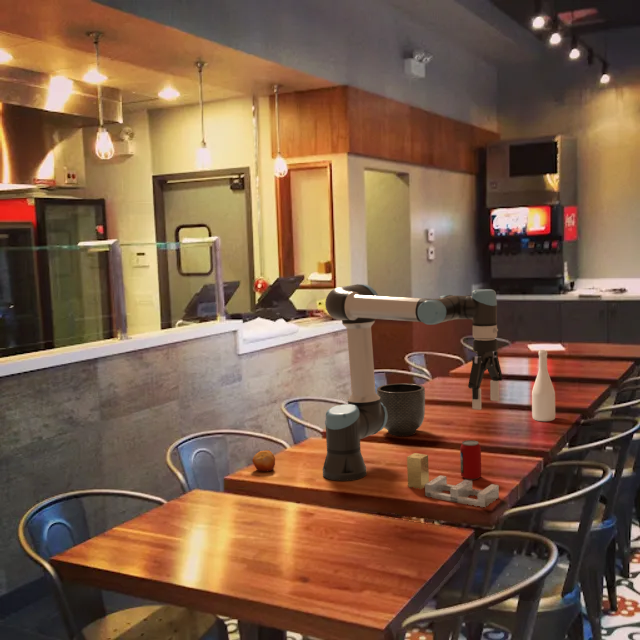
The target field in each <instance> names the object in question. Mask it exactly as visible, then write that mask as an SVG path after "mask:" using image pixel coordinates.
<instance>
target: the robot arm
mask: <svg viewBox="0 0 640 640" xmlns="http://www.w3.org/2000/svg"><path fill="white" fill-rule="evenodd" d="M497 300H498V299H497V293H496V291H495V290H494V289H485V288H482V289H481V288H480V289H474V290H472V291H471V295H453V294H448V295H441V296H439V297H438V298H421V297H402V296H386V295H385V296H384V295H379V294H378V293H377V290H376V289H374V288H373V287H372V286H371V285H368V284H364V283H362V284H361V283H360V284H359V283H357V284H350V285H343V286H338V287H335V288H334V289H332V290H330V292H329V293H328V294H327V295H326V299H325V304H324V305H325V309H326V313H328V315H329V316H330V317H331V318H333V319H334V320H338V321H341V324H342V325H343V326H344V327H345V328H346V333H347V337H346V338H347V346H348V347H347V348H348V350H347V351H348V363H349V374H350V376H349V377H350V390H351V395H350V396H349V397H348V399H347V404H346V403H345V404H340V405H335V406H332V407H329V408H328V410H327V411H326V412H325V421H324V424H325V437H326V457H325V460H324V461H323V462H324V463H323V467H322V477H324V478H325V479H328V480H329V481H330V480H331V481H339V482H343V481H344V482H346V481H348V482H349V481H355V480H359V479H362V478H364V477H366V476H367V466H366V463H365V461H364V458H363V454H362V450H361V440H362V439H365V438H367V437H369V436H373V435H376V434H378V433H379V432H380V431H382V430H383V429H385V428H384V427H385V425H386V423H387V418H388V414H387V410H386V407H384V406H383V403H381V401H380V397H379V396H378V395H377V390H376V379H375V365H374V364H375V363H374V351H373V335H372V326H373V325H374V324H375V322H376V320H390V321H391V320H392V321H404V322H415V323H416V322H418V323H423V324H425V325H429V326H430V325H435V326H436V325H438V324H440V323H445V322H450V321H453V320H454V321H455V320H472V338H474V339H473V340H472V350H473V352H475V353H477V355H476V356H472V359H471V360H472V361H471V362H472V363H471V364H472V365H471V369H470V374H469V378H468V379H469V380H468V389H471V401H472V402H471V403H472V404H471V406H472V407H471V409H472V410H482V388H481V384H482V381H483V378H484V374H485V372H488V374H489V376H490V379H491V380H490V382H489V385H490V391H489V393H490V401H493V402H499V401H500V381H502V380H503V373H502V369H501V365H500V360H499V354H498V353H499V352H498V339H496V338H498V332H499V328H498V323H497V321H498V320H497V319H498V315H497V314H498V301H497Z"/></svg>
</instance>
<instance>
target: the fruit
mask: <svg viewBox="0 0 640 640" xmlns="http://www.w3.org/2000/svg"><path fill="white" fill-rule="evenodd" d="M252 464H253V466H254V467H255V469H256V471H258V472H261V473H262V472H272V470H274V468H275V465H276V456H275V455H274V453H273V452H272V451H270V450H268V449H265V450H261V451H258V452H257V453H255V454H254V456H253V457H252Z"/></svg>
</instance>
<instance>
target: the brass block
mask: <svg viewBox="0 0 640 640" xmlns="http://www.w3.org/2000/svg"><path fill="white" fill-rule="evenodd" d="M429 469H430V468H429V455H428V454H424V453H418V452H414V453H412V454H410V455H408V456H406V470H407V471H406V472H407V487H408V486H409V487H408V488H412V487H414V488H413V489H417V488H419V489H418V490H423V489H425V484H426V483H428V482H429V481H430V475H429V473H430V472H429ZM422 488H423V489H422Z"/></svg>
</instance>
